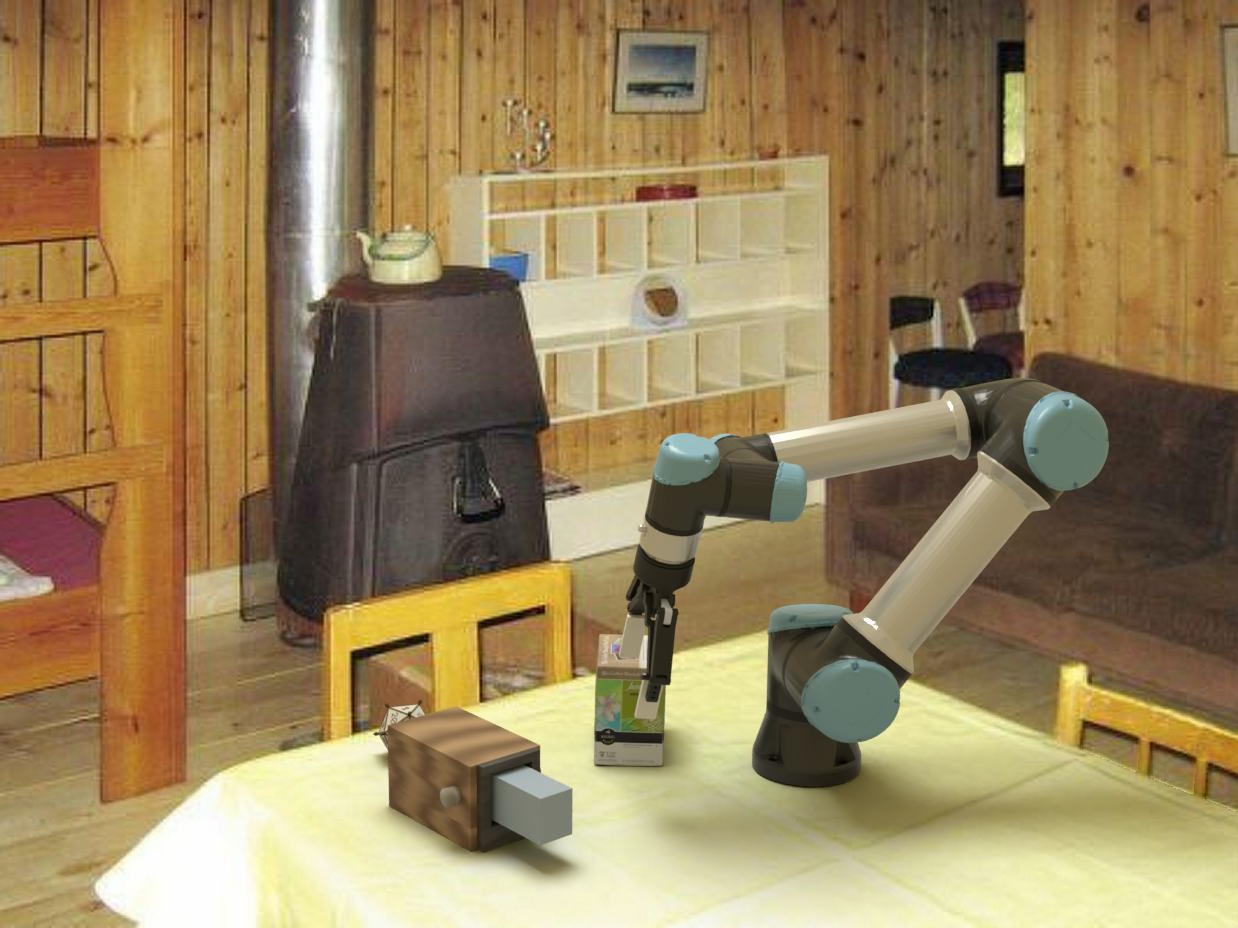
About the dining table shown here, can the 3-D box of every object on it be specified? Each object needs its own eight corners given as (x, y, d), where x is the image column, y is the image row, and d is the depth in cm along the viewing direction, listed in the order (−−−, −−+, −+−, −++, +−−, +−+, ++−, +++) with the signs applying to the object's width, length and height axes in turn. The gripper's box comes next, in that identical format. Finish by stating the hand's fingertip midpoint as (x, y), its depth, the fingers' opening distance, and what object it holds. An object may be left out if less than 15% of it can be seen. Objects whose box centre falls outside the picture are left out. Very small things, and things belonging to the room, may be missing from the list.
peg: (572, 833, 217) (572, 788, 215) (540, 845, 213) (540, 798, 212) (497, 795, 228) (497, 751, 226) (466, 805, 224) (465, 761, 223)
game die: (415, 786, 248) (423, 748, 241) (360, 761, 249) (367, 722, 242) (442, 738, 254) (451, 700, 247) (389, 713, 255) (396, 674, 248)
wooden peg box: (555, 826, 227) (556, 744, 224) (466, 858, 218) (465, 772, 215) (466, 781, 241) (465, 703, 238) (378, 808, 232) (377, 728, 229)
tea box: (665, 767, 246) (667, 666, 243) (593, 766, 247) (593, 665, 243) (664, 728, 261) (665, 632, 258) (595, 727, 261) (596, 631, 258)
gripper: (623, 498, 235) (595, 630, 245) (654, 602, 213) (623, 742, 223) (678, 502, 237) (648, 634, 246) (714, 606, 215) (680, 745, 225)
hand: (636, 686), depth 235 cm, fingers open, 13 cm apart
